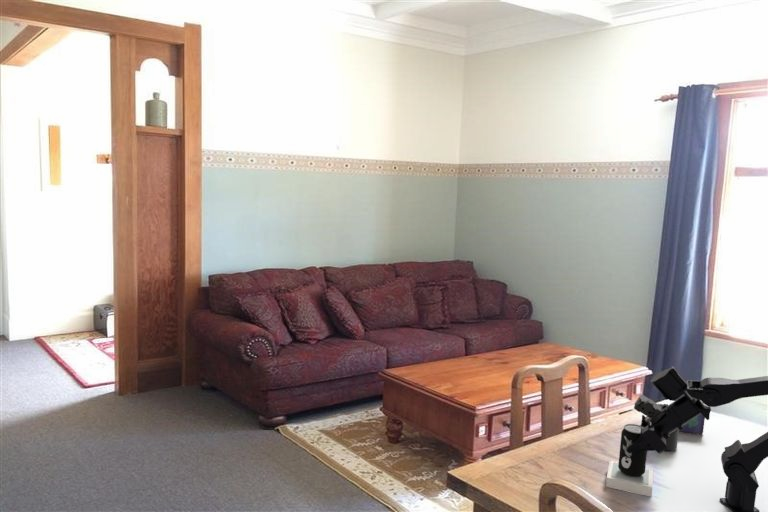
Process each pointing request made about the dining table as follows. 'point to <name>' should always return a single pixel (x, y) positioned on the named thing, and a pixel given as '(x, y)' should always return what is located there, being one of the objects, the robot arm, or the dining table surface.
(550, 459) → the dining table surface
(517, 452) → the dining table surface
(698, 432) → the flask
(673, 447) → the ink bottle
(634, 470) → the beverage can
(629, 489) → the trivet
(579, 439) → the dining table surface
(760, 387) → the robot arm
